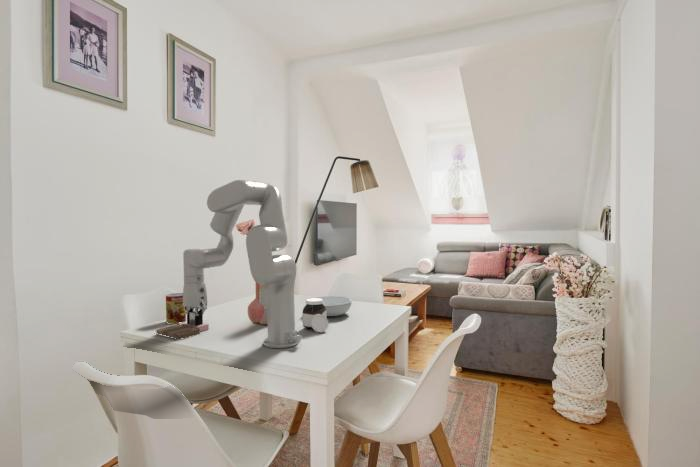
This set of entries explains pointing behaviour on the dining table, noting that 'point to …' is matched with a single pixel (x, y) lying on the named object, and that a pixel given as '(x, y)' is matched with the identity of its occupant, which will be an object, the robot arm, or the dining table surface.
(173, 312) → the canned food
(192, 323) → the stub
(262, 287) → the cracker box
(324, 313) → the spread jar
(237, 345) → the dining table surface
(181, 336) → the brown flat block
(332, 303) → the serving bowl
